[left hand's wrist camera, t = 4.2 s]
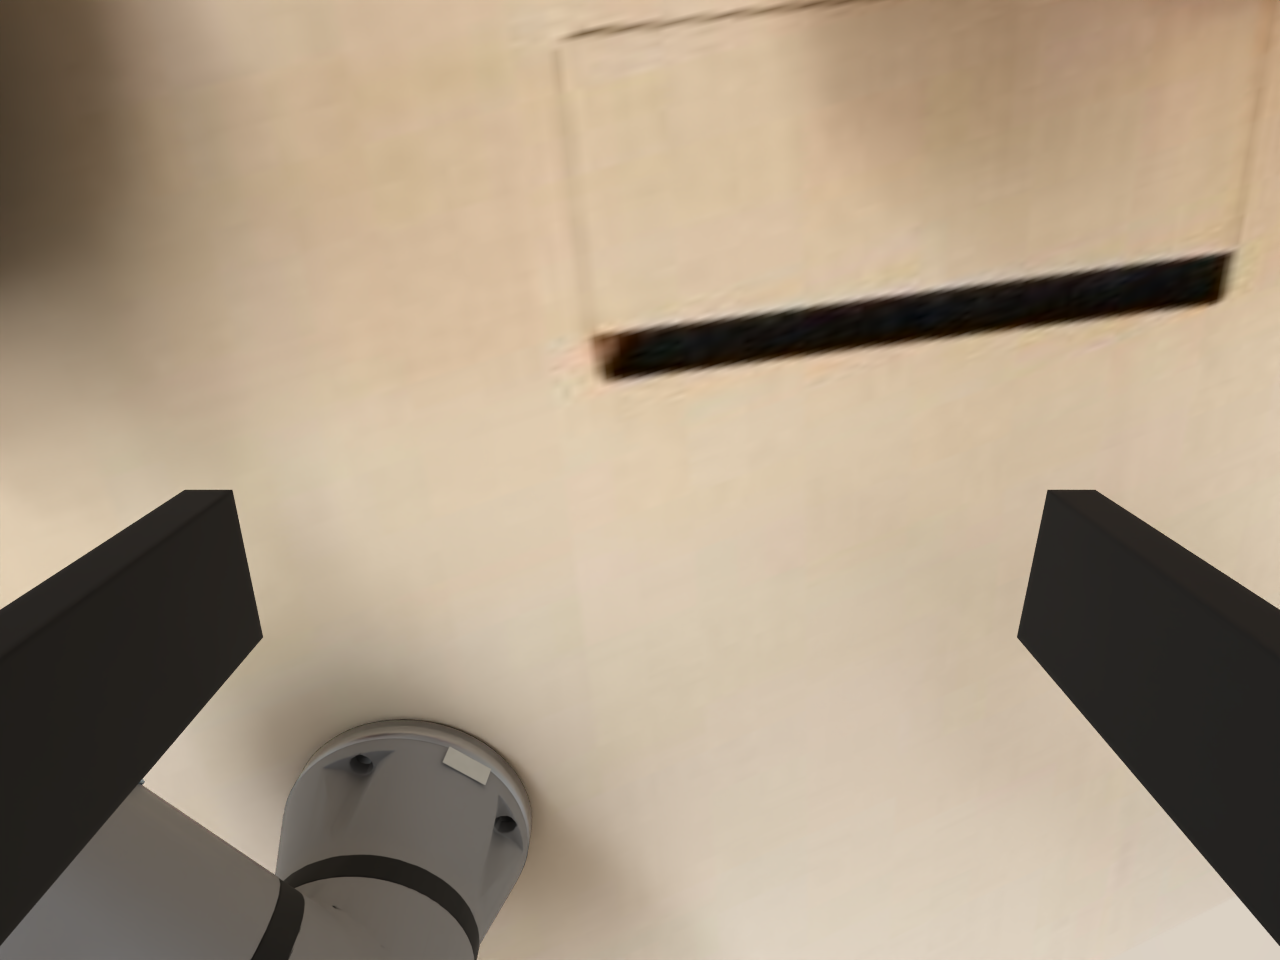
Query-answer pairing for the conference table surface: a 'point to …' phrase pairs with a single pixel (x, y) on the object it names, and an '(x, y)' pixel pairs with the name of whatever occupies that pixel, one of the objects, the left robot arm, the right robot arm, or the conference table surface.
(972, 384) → the conference table surface
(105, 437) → the conference table surface
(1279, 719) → the left robot arm
